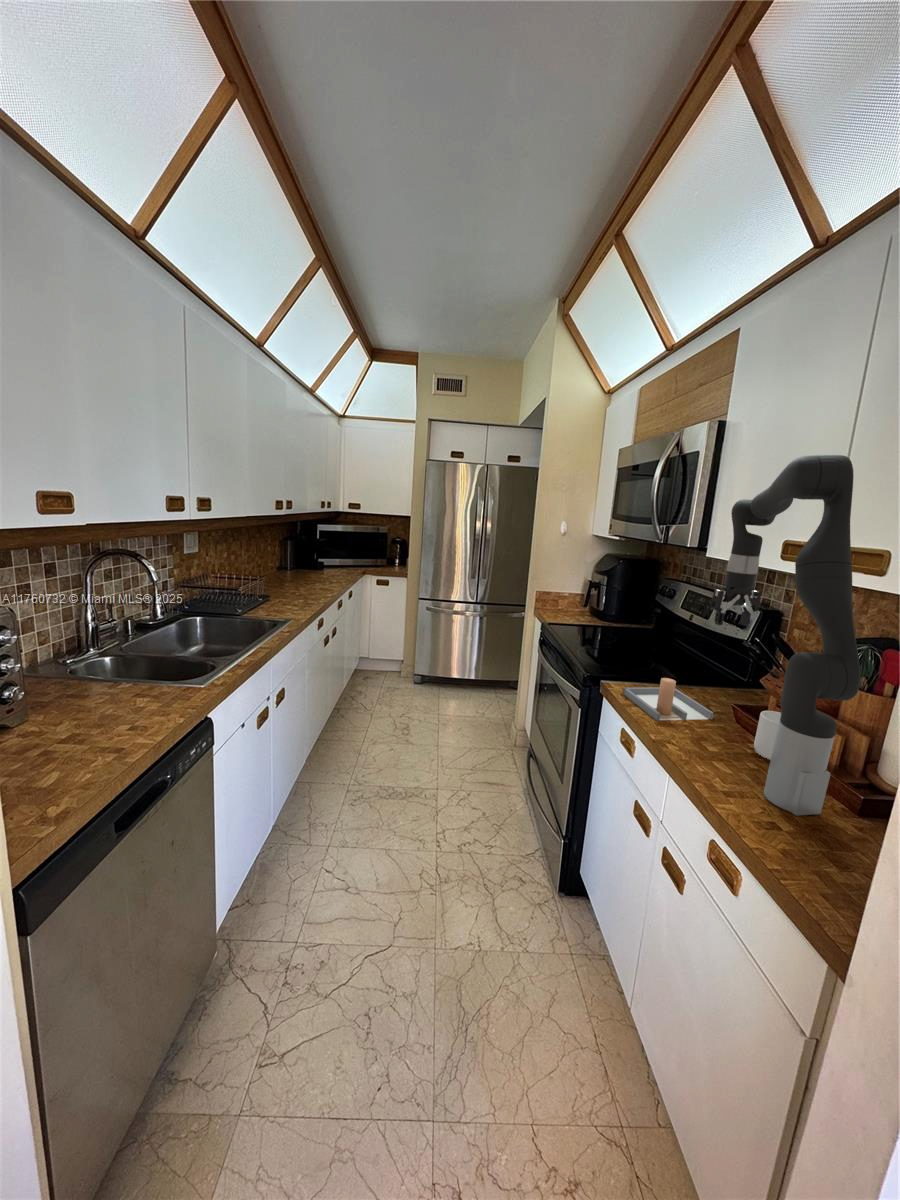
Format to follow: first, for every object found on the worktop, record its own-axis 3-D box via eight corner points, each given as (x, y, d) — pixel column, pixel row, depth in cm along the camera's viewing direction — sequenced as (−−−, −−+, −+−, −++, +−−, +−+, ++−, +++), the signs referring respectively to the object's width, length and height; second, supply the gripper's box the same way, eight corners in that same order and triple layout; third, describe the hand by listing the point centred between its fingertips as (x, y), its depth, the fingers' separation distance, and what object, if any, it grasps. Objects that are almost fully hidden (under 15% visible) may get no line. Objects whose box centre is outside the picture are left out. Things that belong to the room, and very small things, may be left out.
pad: (678, 718, 136) (678, 716, 136) (659, 718, 135) (660, 717, 134) (666, 709, 141) (666, 707, 141) (648, 709, 140) (648, 708, 140)
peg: (673, 715, 136) (679, 683, 134) (661, 715, 136) (666, 683, 134) (665, 709, 140) (670, 677, 138) (653, 709, 139) (658, 677, 137)
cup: (759, 759, 117) (767, 721, 115) (744, 737, 129) (751, 702, 127) (797, 765, 115) (806, 728, 113) (778, 742, 127) (786, 708, 124)
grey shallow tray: (711, 722, 137) (713, 712, 136) (655, 723, 134) (657, 713, 133) (671, 695, 155) (673, 686, 154) (621, 695, 152) (622, 687, 151)
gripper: (730, 572, 129) (719, 628, 133) (773, 573, 132) (762, 628, 136) (710, 567, 137) (701, 621, 140) (752, 569, 139) (742, 621, 143)
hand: (731, 624), depth 138 cm, fingers open, 8 cm apart
